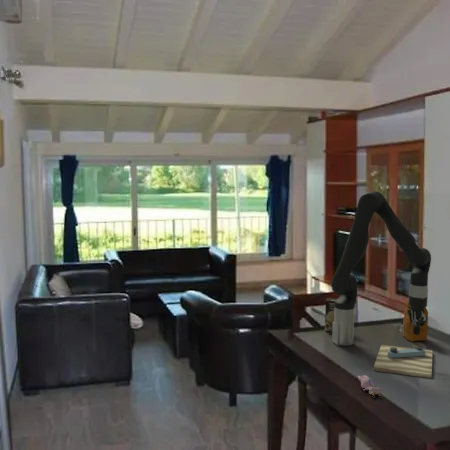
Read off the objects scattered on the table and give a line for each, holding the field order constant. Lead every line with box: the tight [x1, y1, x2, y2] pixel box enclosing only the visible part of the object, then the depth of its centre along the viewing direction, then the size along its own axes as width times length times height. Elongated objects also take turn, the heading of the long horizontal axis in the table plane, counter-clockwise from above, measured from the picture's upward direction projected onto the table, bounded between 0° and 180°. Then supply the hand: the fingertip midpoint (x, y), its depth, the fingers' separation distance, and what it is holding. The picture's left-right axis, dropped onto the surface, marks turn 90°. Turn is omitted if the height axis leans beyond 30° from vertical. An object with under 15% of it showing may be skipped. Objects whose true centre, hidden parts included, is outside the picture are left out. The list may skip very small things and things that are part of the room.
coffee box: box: [324, 297, 338, 333], centre depth 279 cm, size 9×6×16 cm
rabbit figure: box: [357, 374, 381, 397], centre depth 204 cm, size 6×6×15 cm
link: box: [387, 348, 425, 358], centre depth 236 cm, size 16×5×2 cm, turn 101°
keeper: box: [410, 341, 427, 350], centre depth 240 cm, size 4×6×4 cm, turn 12°
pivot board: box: [373, 344, 434, 379], centre depth 234 cm, size 30×22×6 cm
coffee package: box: [402, 299, 429, 342], centre depth 265 cm, size 10×12×22 cm
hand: (416, 334), depth 234 cm, fingers closed
